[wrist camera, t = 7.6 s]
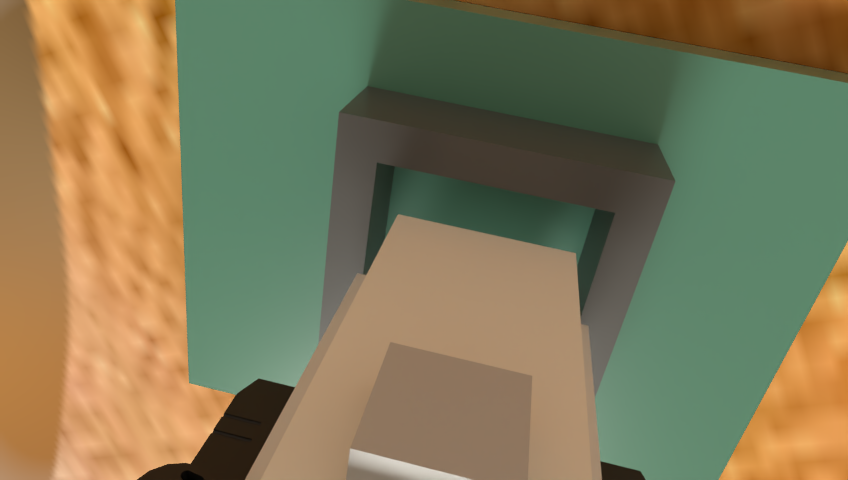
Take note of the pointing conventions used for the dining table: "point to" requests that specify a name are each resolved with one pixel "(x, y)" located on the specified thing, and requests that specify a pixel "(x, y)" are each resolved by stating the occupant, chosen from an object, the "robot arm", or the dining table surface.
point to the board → (512, 192)
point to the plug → (449, 367)
